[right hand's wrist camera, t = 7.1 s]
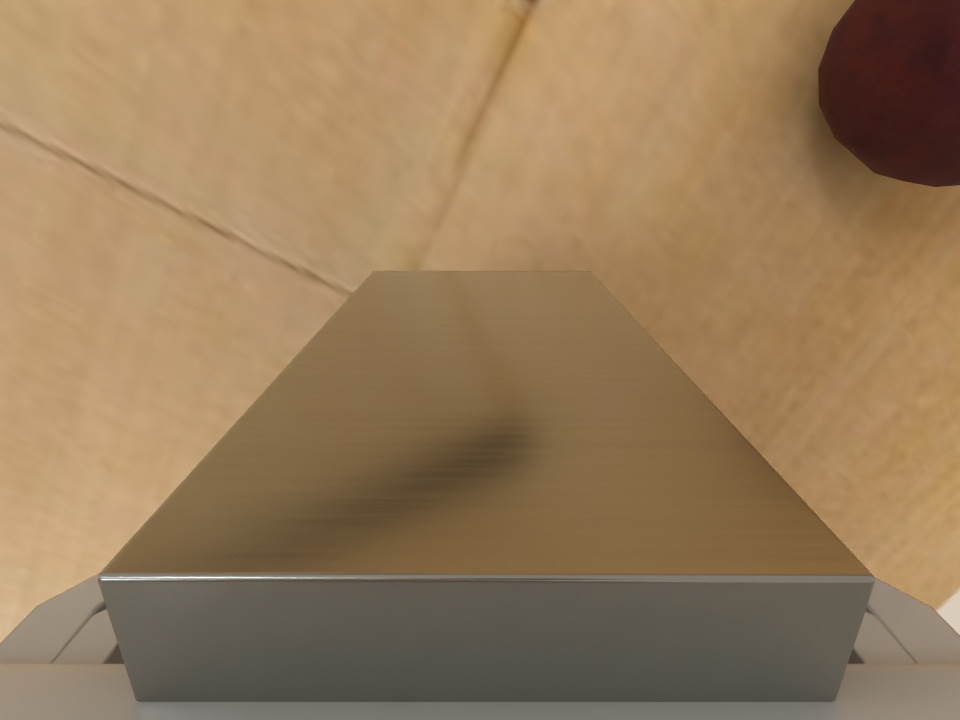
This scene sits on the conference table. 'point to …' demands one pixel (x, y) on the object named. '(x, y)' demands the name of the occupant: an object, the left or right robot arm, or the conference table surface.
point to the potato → (897, 88)
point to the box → (484, 522)
